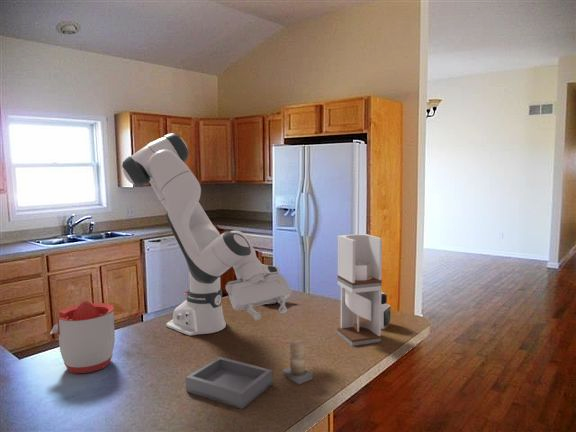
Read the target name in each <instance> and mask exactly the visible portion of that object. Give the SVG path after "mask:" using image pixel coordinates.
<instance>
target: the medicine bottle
mask: <svg viewBox="0 0 576 432" xmlns="http://www.w3.org/2000/svg"><path fill="white" fill-rule="evenodd" d="M387 297H388V295H387V294H386V293H385V292H382V291H381V330H385V329H386V328H387V327H388V326H389V325H390V324H391V304H387V303H388V300H387V299H388V298H387Z"/></svg>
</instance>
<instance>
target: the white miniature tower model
mask: <svg viewBox="0 0 576 432" xmlns="http://www.w3.org/2000/svg"><path fill="white" fill-rule="evenodd" d="M382 264H383V238H381V237H377V236H375V235H371V234H367V233H358V234H357V233H355V234H354V233H353V234H343V235H342V234H341V235H340V234H338V235H337V285H338V286H339V287H340V327H337V335H338V336H339V337H341V338H342V339H343V340H344V341H346V342H347V343H348V344H349V345H350V346H351V347H354V346H361V345H368V344H374V343H380V342H382V329H381V292H382V284H383V283H382V281H383V280H382V279H383V278H382V277H383V275H382V273H383V272H382V271H383V269H382V268H383V267H382V266H383V265H382Z"/></svg>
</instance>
